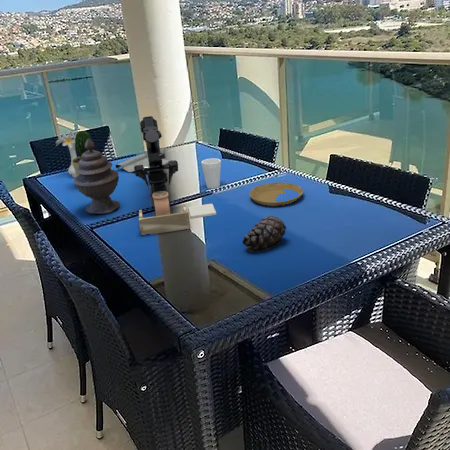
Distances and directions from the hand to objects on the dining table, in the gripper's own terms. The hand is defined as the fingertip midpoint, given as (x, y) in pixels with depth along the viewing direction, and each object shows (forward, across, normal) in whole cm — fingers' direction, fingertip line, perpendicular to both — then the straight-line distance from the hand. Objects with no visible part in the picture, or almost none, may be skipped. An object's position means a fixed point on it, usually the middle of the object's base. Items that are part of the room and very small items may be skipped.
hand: (159, 185), depth 205 cm
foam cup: (-10, +27, +29) cm, 40 cm away
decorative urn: (-2, -27, +21) cm, 34 cm away
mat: (-43, -6, +63) cm, 77 cm away
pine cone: (+40, +35, -21) cm, 57 cm away
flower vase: (-44, -43, +63) cm, 88 cm away
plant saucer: (+9, +52, +10) cm, 54 cm away
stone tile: (+12, +17, +7) cm, 22 cm away
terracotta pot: (+15, 0, +4) cm, 15 cm away
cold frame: (+16, 0, +2) cm, 17 cm away
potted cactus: (-28, -34, +48) cm, 65 cm away
